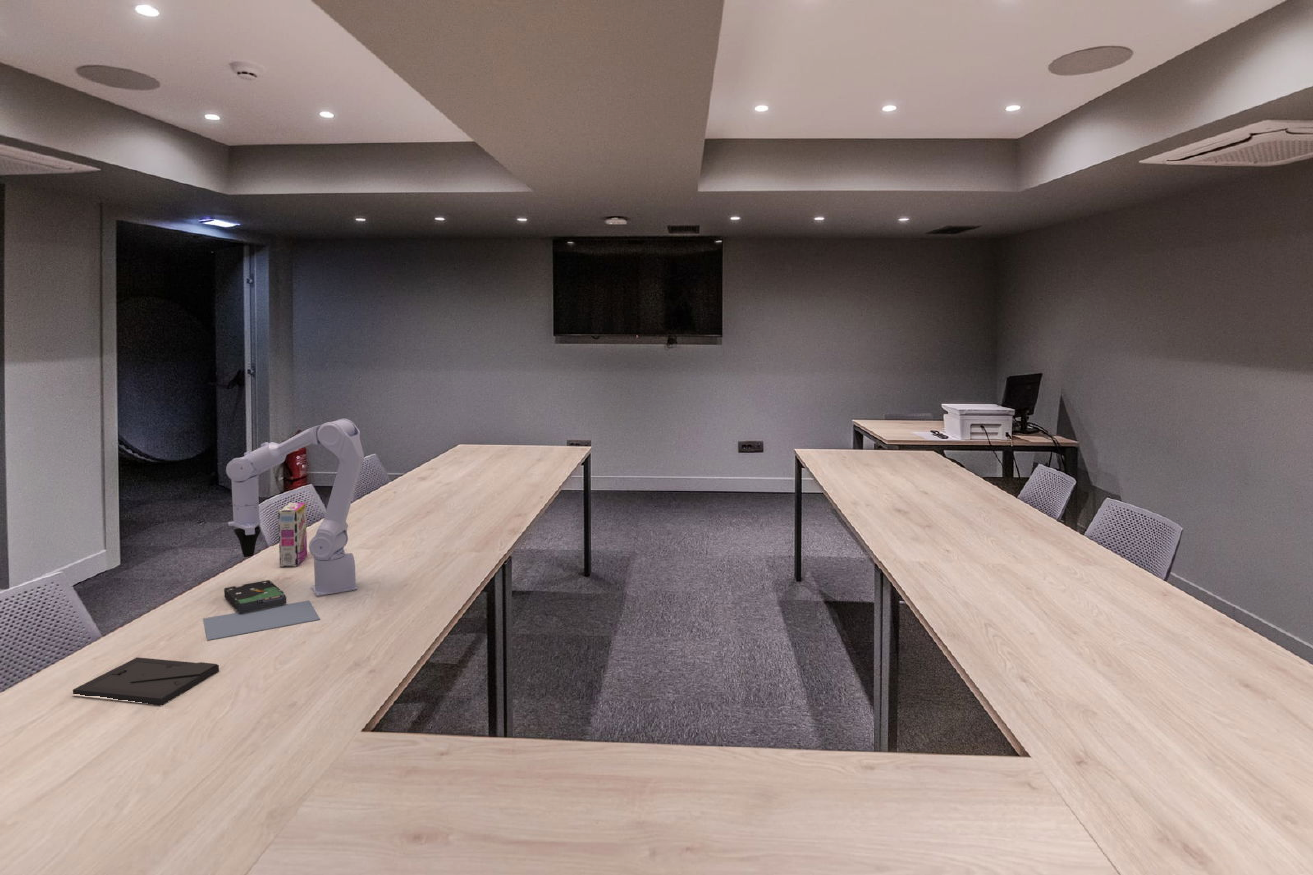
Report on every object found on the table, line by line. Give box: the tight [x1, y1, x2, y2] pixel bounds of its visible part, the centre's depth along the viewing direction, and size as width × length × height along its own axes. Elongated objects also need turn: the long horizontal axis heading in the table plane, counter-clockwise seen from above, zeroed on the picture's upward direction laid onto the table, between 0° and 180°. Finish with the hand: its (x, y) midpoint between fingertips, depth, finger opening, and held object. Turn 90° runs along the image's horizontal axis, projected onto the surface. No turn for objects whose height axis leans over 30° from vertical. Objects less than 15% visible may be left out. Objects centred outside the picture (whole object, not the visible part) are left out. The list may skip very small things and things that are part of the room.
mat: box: [203, 600, 321, 642], centre depth 161 cm, size 22×14×1 cm, turn 125°
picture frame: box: [72, 657, 220, 706], centre depth 131 cm, size 13×2×18 cm
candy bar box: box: [277, 502, 308, 568], centre depth 203 cm, size 11×5×16 cm, turn 13°
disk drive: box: [223, 579, 287, 613], centre depth 172 cm, size 10×3×15 cm
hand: (248, 556), depth 180 cm, fingers closed
